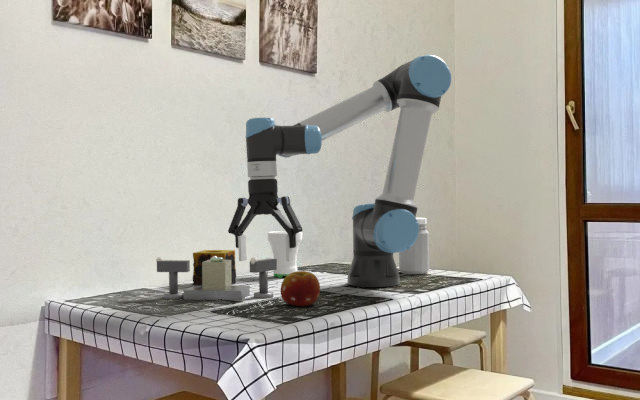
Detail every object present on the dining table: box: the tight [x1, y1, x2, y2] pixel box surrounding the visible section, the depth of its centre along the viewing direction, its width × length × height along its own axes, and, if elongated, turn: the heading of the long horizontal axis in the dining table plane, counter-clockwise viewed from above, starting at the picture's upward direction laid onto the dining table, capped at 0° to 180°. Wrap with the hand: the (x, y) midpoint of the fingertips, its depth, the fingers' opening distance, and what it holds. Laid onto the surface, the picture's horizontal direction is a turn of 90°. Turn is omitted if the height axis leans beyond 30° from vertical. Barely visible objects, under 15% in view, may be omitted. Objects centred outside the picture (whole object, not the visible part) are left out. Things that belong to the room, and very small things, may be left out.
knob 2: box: [249, 256, 277, 299], centre depth 174 cm, size 8×5×10 cm, turn 144°
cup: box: [267, 230, 304, 279], centre depth 215 cm, size 11×11×14 cm
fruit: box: [280, 270, 321, 307], centre depth 162 cm, size 10×9×8 cm
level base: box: [183, 256, 251, 301], centre depth 175 cm, size 15×9×11 cm, turn 83°
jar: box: [398, 217, 430, 275], centre depth 222 cm, size 10×10×18 cm
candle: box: [192, 249, 237, 286], centre depth 197 cm, size 10×10×10 cm
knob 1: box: [155, 256, 191, 300], centre depth 174 cm, size 8×5×10 cm, turn 83°
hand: (266, 260), depth 174 cm, fingers open, 13 cm apart
